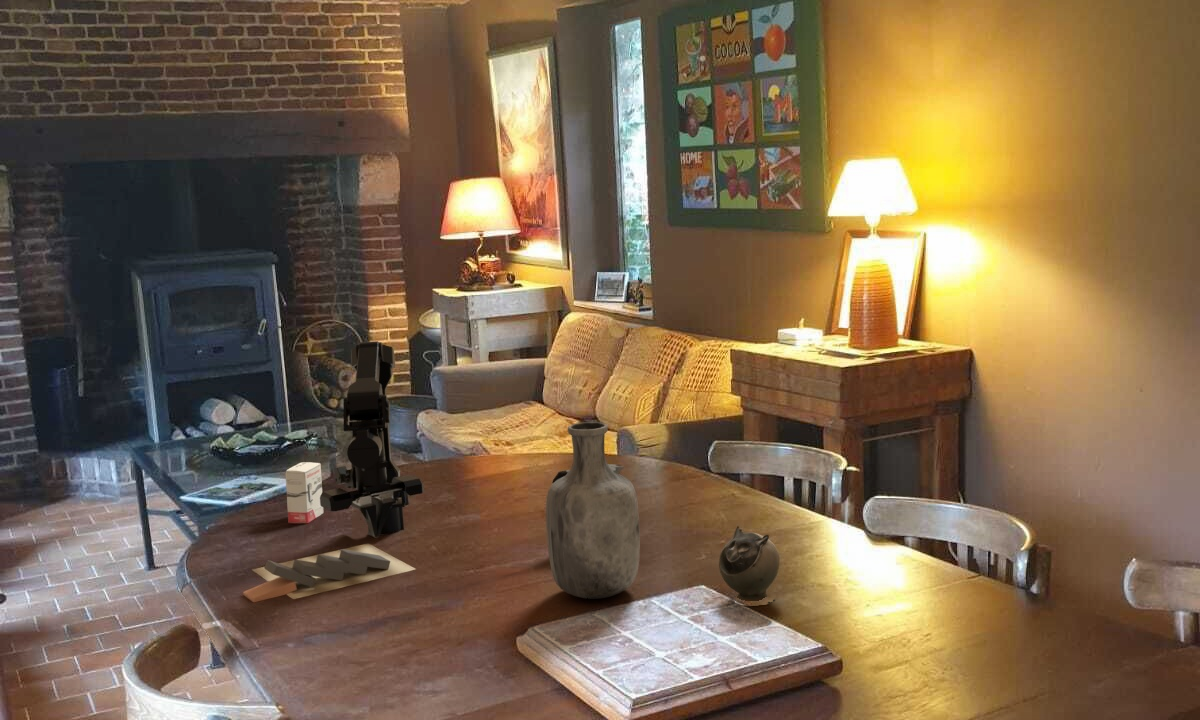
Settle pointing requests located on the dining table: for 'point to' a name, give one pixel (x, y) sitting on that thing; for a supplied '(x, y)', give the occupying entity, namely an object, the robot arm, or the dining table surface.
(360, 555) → the domino
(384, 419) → the robot arm
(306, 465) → the ink box
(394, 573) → the domino board
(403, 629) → the dining table surface
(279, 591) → the end tile
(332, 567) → the domino
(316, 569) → the domino
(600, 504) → the vase
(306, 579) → the domino
